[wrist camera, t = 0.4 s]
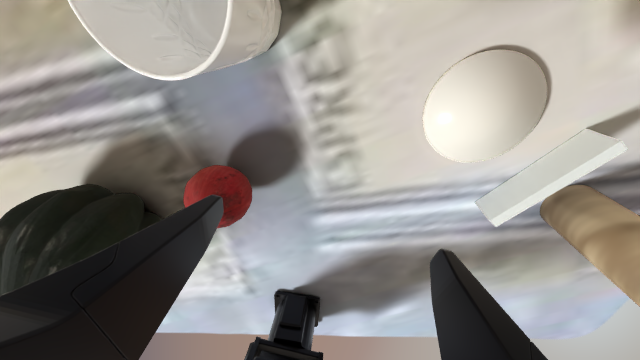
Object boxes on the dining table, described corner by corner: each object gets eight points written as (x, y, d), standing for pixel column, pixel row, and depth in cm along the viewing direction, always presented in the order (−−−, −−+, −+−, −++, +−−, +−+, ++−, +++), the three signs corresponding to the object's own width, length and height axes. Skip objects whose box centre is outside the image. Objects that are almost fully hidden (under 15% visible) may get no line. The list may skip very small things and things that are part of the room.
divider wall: (480, 207, 24) (495, 227, 22) (474, 202, 24) (489, 220, 21) (592, 136, 20) (628, 149, 17) (586, 128, 20) (621, 140, 17)
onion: (248, 146, 24) (205, 187, 17) (270, 194, 27) (241, 246, 20) (200, 160, 26) (143, 202, 19) (225, 204, 28) (183, 255, 21)
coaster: (512, 165, 22) (515, 167, 22) (411, 155, 23) (412, 157, 22) (568, 53, 18) (572, 53, 17) (440, 45, 18) (441, 45, 18)
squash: (-27, 160, 22) (-146, 352, 17) (130, 175, 22) (52, 378, 17) (104, 199, 36) (58, 314, 31) (203, 209, 35) (172, 327, 30)
